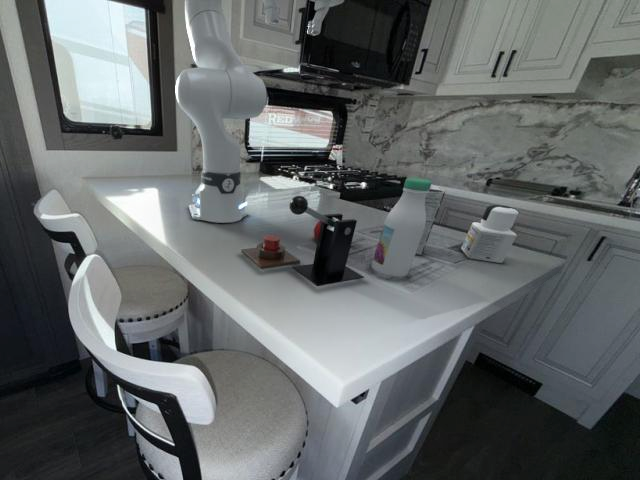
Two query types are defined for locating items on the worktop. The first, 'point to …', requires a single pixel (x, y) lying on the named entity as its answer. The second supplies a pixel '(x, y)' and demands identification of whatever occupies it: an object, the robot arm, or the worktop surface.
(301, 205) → the lever
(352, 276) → the bracket
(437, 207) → the candy bar box
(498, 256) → the container
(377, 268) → the milk bottle
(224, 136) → the robot arm
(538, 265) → the worktop surface
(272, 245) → the button
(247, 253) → the button block
